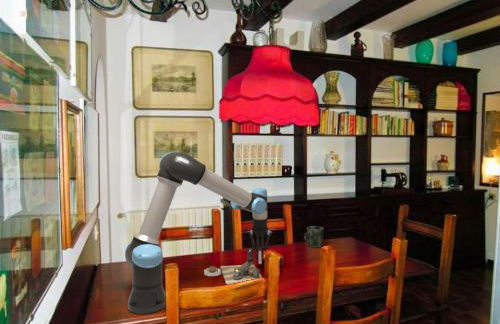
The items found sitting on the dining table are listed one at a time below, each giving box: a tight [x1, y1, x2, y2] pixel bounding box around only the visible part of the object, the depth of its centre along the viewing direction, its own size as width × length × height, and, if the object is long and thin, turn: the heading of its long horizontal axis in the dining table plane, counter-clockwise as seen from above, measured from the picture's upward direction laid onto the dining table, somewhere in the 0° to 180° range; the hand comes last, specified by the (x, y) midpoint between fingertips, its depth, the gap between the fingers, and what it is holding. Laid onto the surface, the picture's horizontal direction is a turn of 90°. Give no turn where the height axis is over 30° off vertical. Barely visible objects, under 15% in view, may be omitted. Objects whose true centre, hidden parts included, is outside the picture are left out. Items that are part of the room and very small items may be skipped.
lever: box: [233, 248, 255, 276], centre depth 173 cm, size 20×5×10 cm, turn 157°
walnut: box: [248, 268, 254, 276], centre depth 170 cm, size 4×4×4 cm
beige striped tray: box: [219, 264, 263, 285], centre depth 174 cm, size 23×18×5 cm
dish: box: [203, 267, 222, 277], centre depth 175 cm, size 8×8×2 cm
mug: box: [303, 225, 325, 248], centre depth 228 cm, size 11×15×12 cm
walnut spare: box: [208, 265, 217, 273], centre depth 175 cm, size 4×4×4 cm
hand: (260, 263), depth 181 cm, fingers closed
